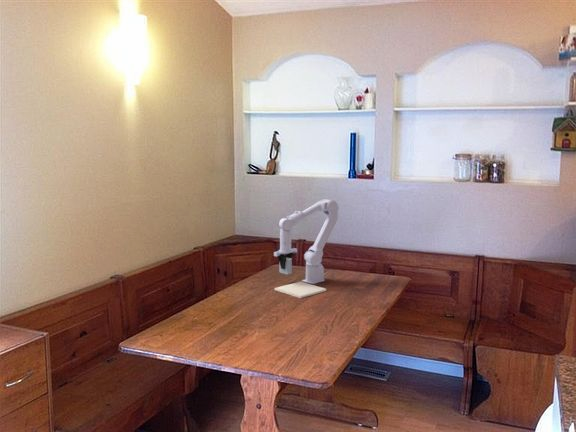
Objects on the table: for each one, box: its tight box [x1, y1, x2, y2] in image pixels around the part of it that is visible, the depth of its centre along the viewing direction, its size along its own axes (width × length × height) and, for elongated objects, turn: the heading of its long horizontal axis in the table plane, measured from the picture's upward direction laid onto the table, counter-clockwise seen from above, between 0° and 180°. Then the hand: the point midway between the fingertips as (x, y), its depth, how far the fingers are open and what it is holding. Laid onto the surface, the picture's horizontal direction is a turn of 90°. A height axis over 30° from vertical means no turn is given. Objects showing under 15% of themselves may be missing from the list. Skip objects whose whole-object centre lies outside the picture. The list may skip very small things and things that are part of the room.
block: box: [278, 257, 293, 276], centre depth 270 cm, size 3×6×8 cm, turn 44°
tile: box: [274, 281, 327, 299], centre depth 259 cm, size 18×18×1 cm
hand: (285, 268), depth 270 cm, fingers closed on block, 3 cm apart
